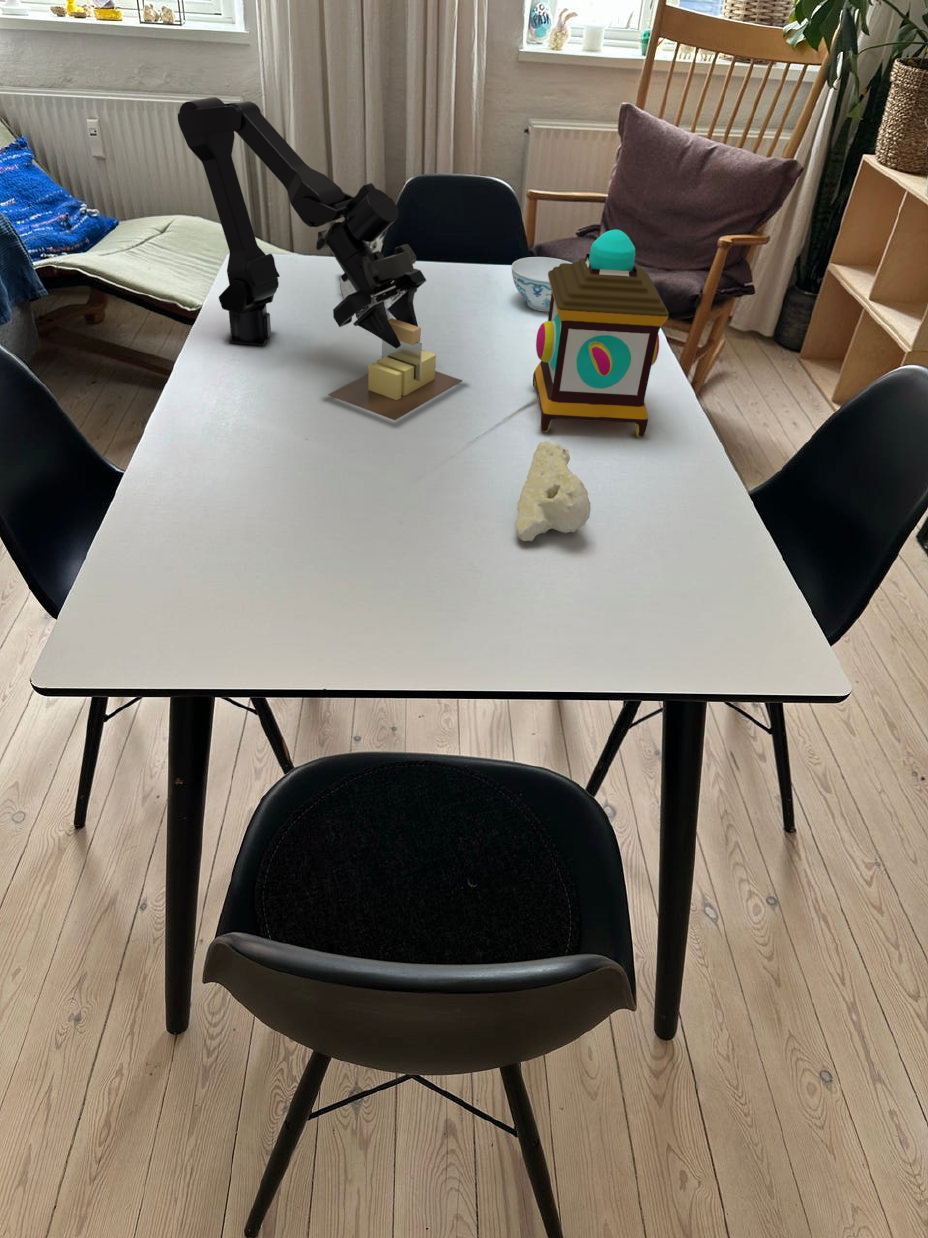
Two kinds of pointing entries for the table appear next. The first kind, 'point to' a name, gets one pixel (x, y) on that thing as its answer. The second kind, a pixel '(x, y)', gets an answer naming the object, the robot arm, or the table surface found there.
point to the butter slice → (385, 381)
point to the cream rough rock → (551, 495)
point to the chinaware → (535, 280)
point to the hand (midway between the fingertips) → (408, 342)
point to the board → (388, 406)
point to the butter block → (412, 371)
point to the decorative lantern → (599, 337)
